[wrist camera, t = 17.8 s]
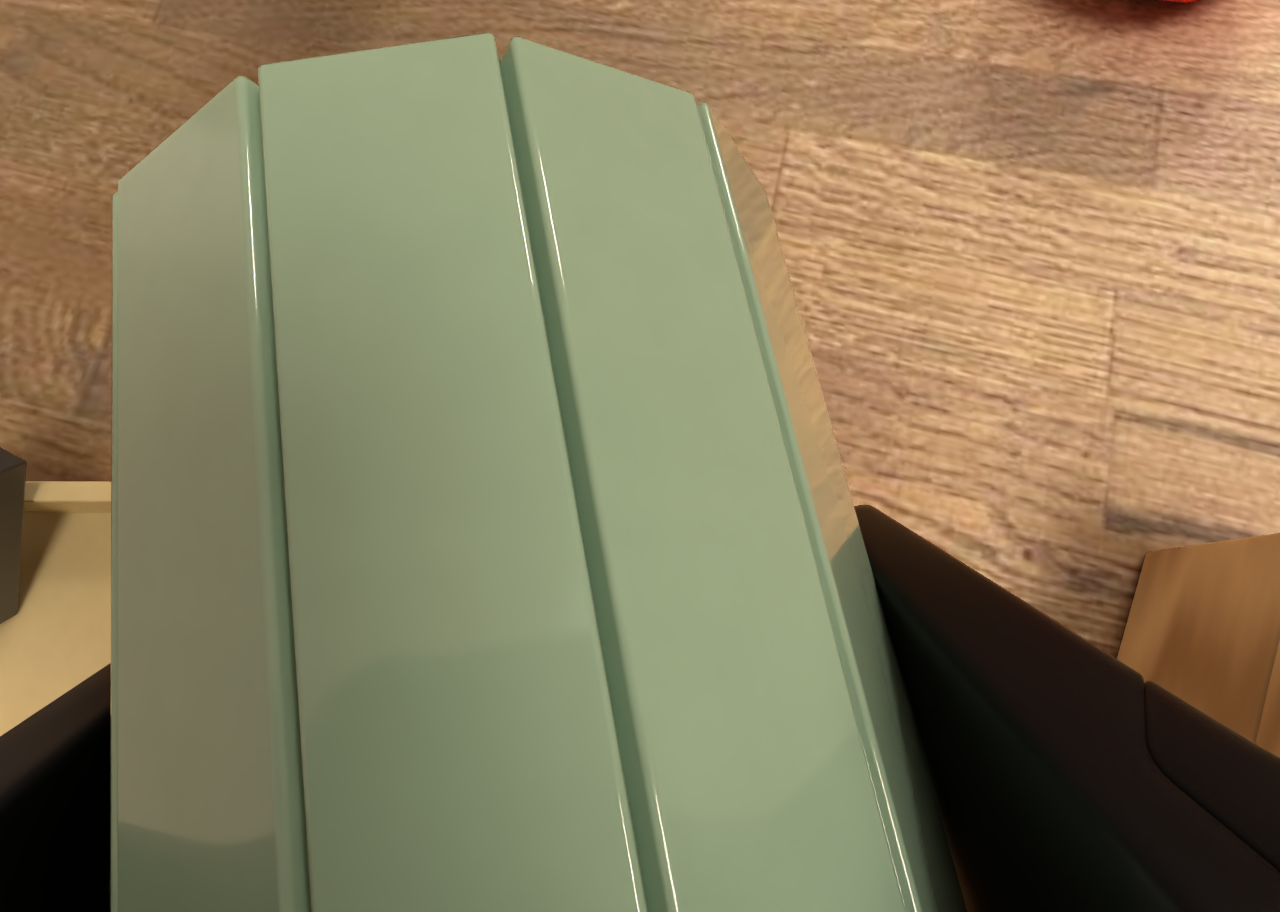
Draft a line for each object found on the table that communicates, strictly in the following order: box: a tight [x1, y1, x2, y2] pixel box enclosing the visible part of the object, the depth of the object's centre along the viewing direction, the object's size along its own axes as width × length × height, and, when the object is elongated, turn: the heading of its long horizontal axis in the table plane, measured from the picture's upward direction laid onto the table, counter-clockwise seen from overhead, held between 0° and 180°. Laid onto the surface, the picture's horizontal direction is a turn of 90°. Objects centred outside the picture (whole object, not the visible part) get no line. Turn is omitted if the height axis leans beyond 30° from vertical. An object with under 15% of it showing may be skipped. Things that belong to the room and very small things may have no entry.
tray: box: [0, 481, 111, 736], centre depth 19 cm, size 15×13×3 cm
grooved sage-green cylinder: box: [110, 33, 967, 912], centre depth 7 cm, size 11×7×7 cm, turn 11°
